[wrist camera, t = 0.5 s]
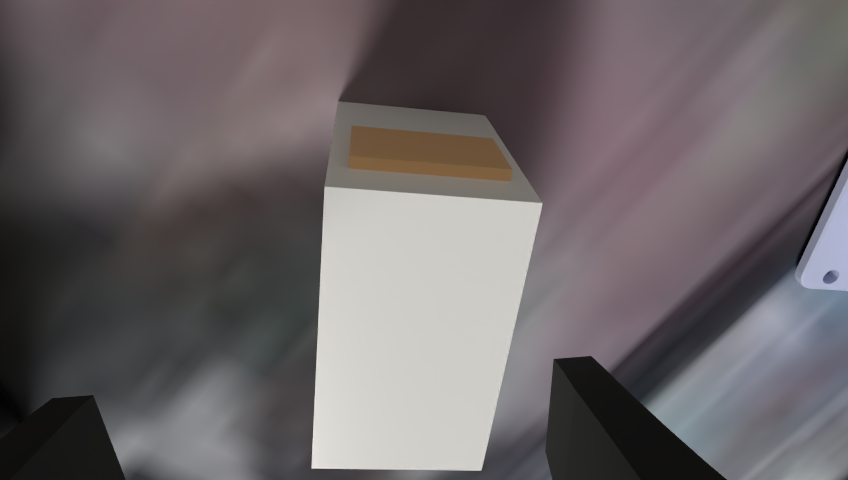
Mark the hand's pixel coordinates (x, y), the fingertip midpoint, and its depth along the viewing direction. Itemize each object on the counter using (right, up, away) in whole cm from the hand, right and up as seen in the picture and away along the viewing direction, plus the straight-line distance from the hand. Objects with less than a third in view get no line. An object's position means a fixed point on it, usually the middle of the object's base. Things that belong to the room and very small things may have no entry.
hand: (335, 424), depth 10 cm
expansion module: (+1, +3, +8) cm, 9 cm away
